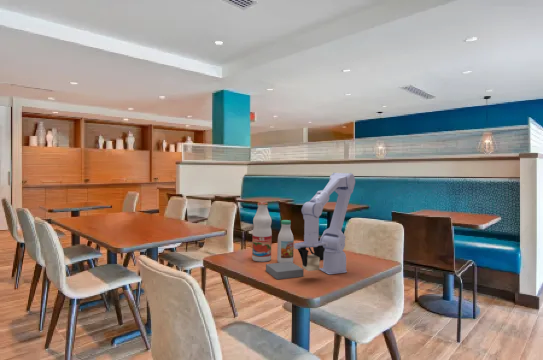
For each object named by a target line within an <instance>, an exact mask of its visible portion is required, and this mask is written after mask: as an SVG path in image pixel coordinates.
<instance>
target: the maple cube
mask: <svg viewBox="0 0 543 360" xmlns="http://www.w3.org/2000/svg"><path fill="white" fill-rule="evenodd" d="M319 261H321V260H320V257H317V256H315V255H312V254H308V256H307V266H306V267H305V266H303V263H302V267H301V268H302V269H304V271H307V272H312V271H320V269H319V268H320V262H319Z"/></svg>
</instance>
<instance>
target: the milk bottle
mask: <svg viewBox="0 0 543 360" xmlns="http://www.w3.org/2000/svg"><path fill="white" fill-rule="evenodd" d="M280 222H281V223H280V224H281V227H280V230H279V233H278V235H277V247H276V248H277V249H276V251H277V256H276V261H277V263H282V262H292V263H294V253H295V252H294V249H295V248H294V243H295V242H294V240H295V239H294V235H293V232H292V230H291V224H292V223H291V222H292V221H291V219H289V220H288V219H283V220H281V221H280Z"/></svg>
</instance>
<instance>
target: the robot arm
mask: <svg viewBox="0 0 543 360" xmlns="http://www.w3.org/2000/svg"><path fill="white" fill-rule="evenodd" d="M328 180H329V181H328V183H327V184H326V185H325V187H324V188H323V189H322V190H317V192H316V193H315V195H313V197H311V199H310V200H308V201H306V202H305V203H303V205H302V207H301V214H302V217H303V220H304V226H303V228H304V230H303V231H304V234H303V240H304V241H300V242H296V243H295V242H294V249H295V250H297V251H298V253H299V256H300V258H301V262H302V263H303V266H305V267H306V266H307V256H308V255H309V252H310V250H309V248H313V247H314V250H313V253H315V256H317V257H320V259H321V256H322V254H323V252H324V258H323V260H322V261H323V262H322V265H323V266H322V267H319V271H322V272H323V273H325V274H327V275H335V274H344V273H347V272H348V271H347V256H346V252H345V251H344V249H345V246H346V242H345V241H346V236H345V234H344V233H343V231H342V229H343V225H344V221H345V218H346V213H347V210H348V206H349V202H350V199H351V195H352V194H353V193H354V188H355V185H356V177H355V174H354V173H352V172H349V173H348V172H346V173H345V172H332V173H331V175H329V179H328ZM334 192H335V193H336V194H337V195H338V196H337V199H336V202H335V206H334V210H333V214H332V216H331V221H330V224H329V227H328V228H326V229H325V230H324V231H323V233H322V235H321V237H319V229H320V225H319V223H320V216H322V213H323V210H324V207H325V205H326V204H327V203H328V202H329V200H330V196H331V194H333V193H334ZM318 238H320V241H318ZM307 248H308V249H307ZM320 261H321V260H320ZM320 261H319V263H320Z"/></svg>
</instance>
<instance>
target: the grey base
mask: <svg viewBox="0 0 543 360" xmlns="http://www.w3.org/2000/svg"><path fill="white" fill-rule="evenodd" d="M304 271H305V269H304V268H302V267H300V266H299V265H298V264H295V262H293V263H292V262H282V263H278V262H275V263H274V262H273V263H272V262H271V263H266V264H265V272H267V273H268V274H269V275H270V276H272V277H273V278H275V280H284V279H285V280H286V279H293V278H301V277H304V276H305V275H304Z"/></svg>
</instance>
